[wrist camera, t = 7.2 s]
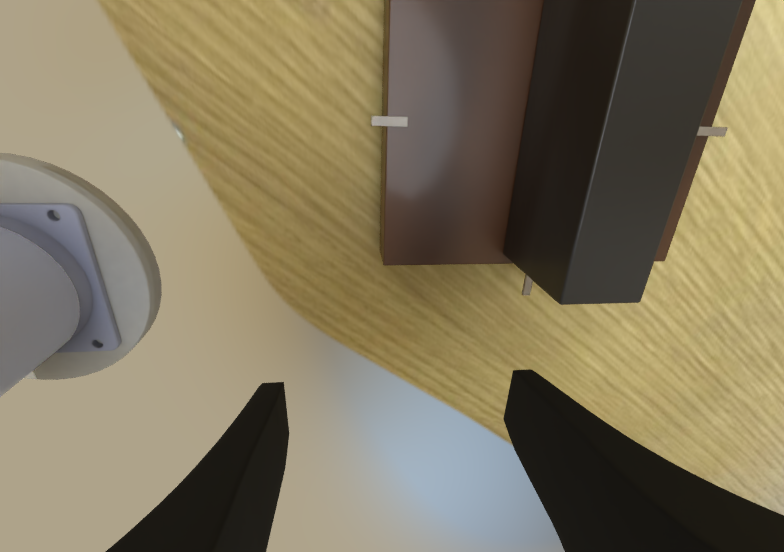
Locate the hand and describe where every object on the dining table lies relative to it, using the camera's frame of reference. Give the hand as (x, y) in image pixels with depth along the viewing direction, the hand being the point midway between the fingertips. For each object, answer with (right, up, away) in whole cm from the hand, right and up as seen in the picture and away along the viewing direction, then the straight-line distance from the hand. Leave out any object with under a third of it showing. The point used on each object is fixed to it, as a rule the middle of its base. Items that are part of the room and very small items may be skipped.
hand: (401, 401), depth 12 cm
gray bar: (+6, +10, +3) cm, 12 cm away
